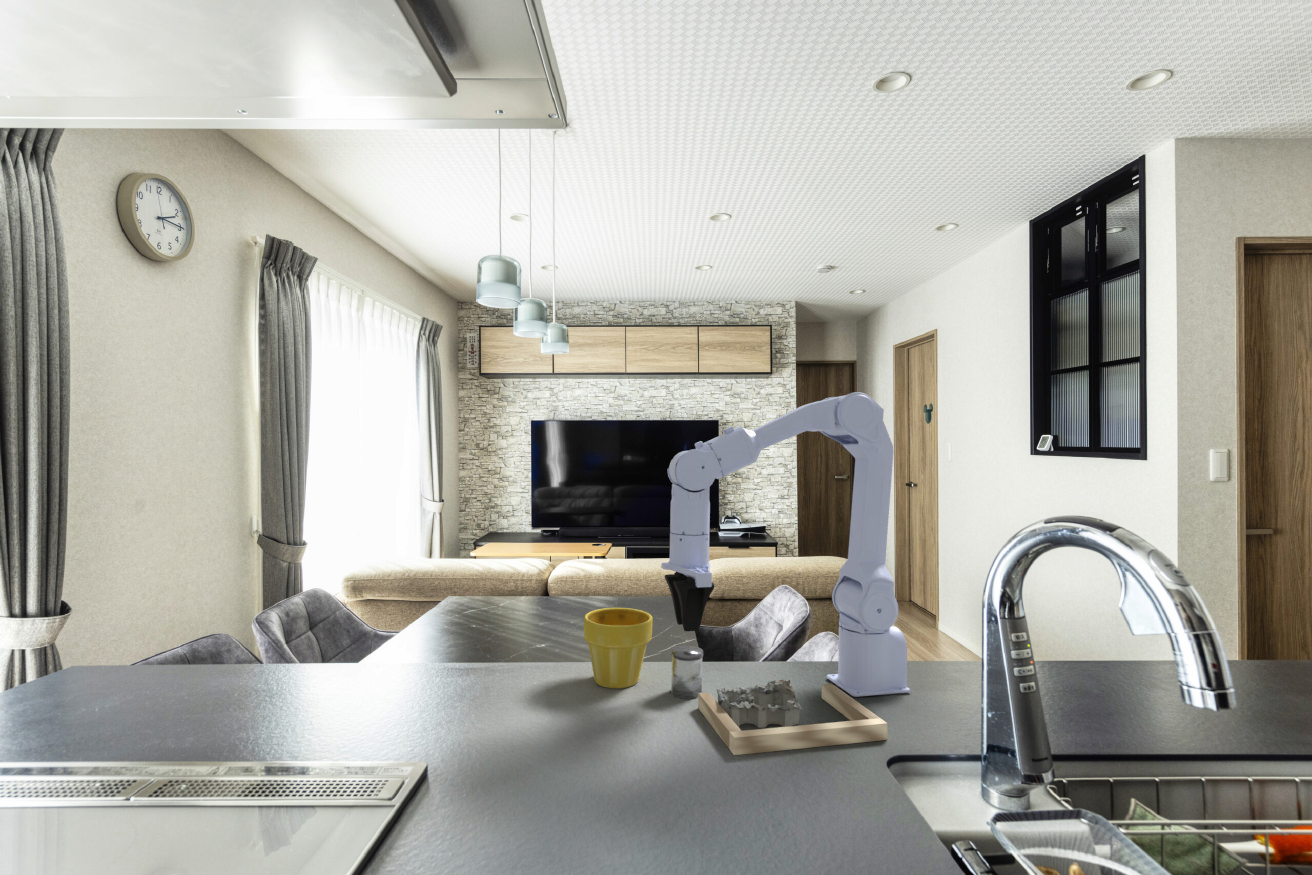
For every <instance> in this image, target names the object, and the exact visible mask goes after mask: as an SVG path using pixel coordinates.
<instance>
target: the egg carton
mask: <svg viewBox="0 0 1312 875" xmlns="http://www.w3.org/2000/svg"><path fill="white" fill-rule="evenodd" d="M716 694H717V702H718V704H719V705H720V706H721V707H722V708H723V710H724V711H725V712H726V713H727V714H728V715H729V717H730V718H731V719H732V720H733V721H734V722H735V724H736V725H737V726H738V727H739V728H740V727H741V725H743V724H752V725H754V726H756V727H757V728H761V729H766V728H767V726H769V725H772V724H775V725H780V726H781V727H789V726H796V725H799V724H800V710H802V706H801V704H800V702H799V700H798V698H797V697H796V694H795V689H794V688H793V686H792V684H791V679H790V680H789V679H787V680H784V679H779V680H776V679H774V680H772V681H768V682H767V684H766V685H760V684H756V685H755V686H752V687H745V686H744V687H743V686H741V687H736V688H731V689H730V688H729V689H726V688H725V687H723V688H720V687H717V688H716Z"/></svg>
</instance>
